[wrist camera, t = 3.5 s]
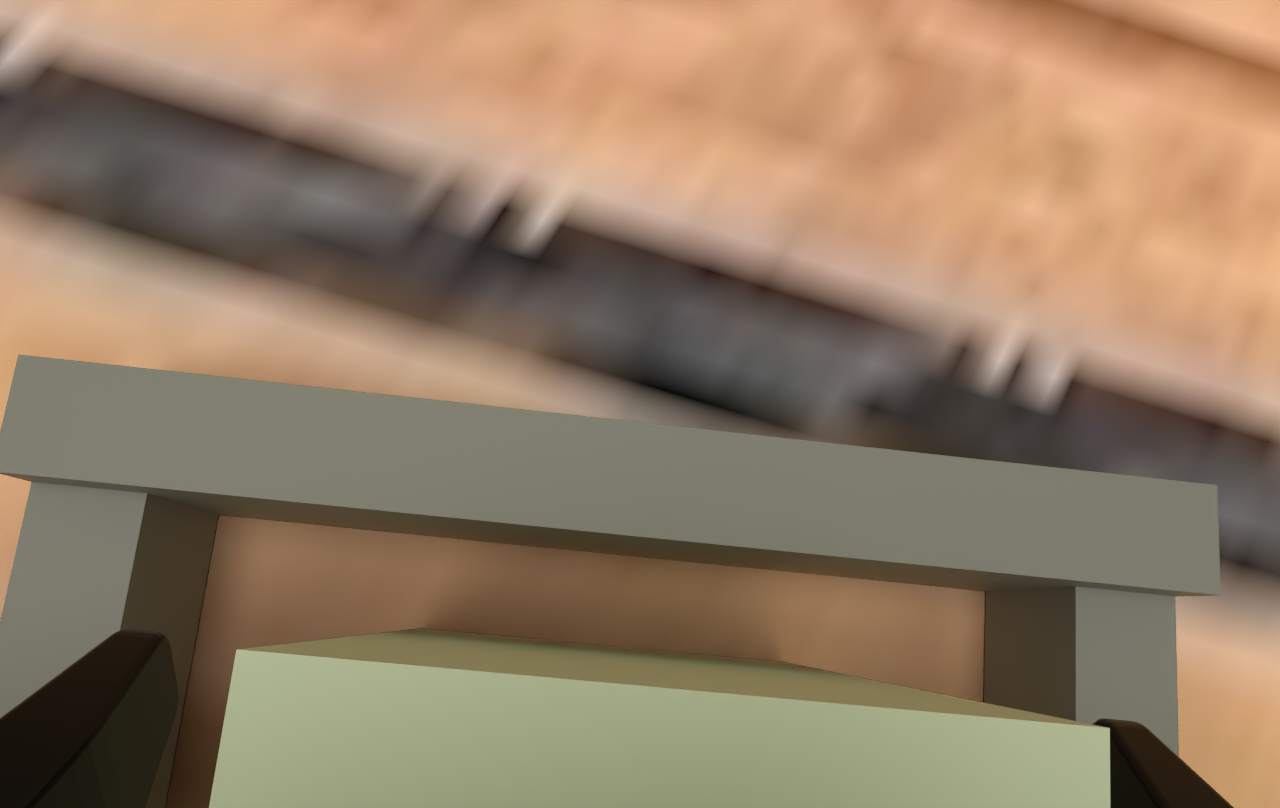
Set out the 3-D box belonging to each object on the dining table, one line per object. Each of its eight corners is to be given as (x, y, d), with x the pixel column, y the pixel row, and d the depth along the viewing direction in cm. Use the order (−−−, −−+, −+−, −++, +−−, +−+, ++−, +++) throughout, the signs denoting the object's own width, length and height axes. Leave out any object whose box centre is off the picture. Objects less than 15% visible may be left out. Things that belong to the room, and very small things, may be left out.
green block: (770, 852, 16) (1114, 1219, 6) (394, 823, 16) (146, 1166, 6) (781, 661, 17) (1108, 727, 7) (420, 628, 16) (235, 648, 7)
